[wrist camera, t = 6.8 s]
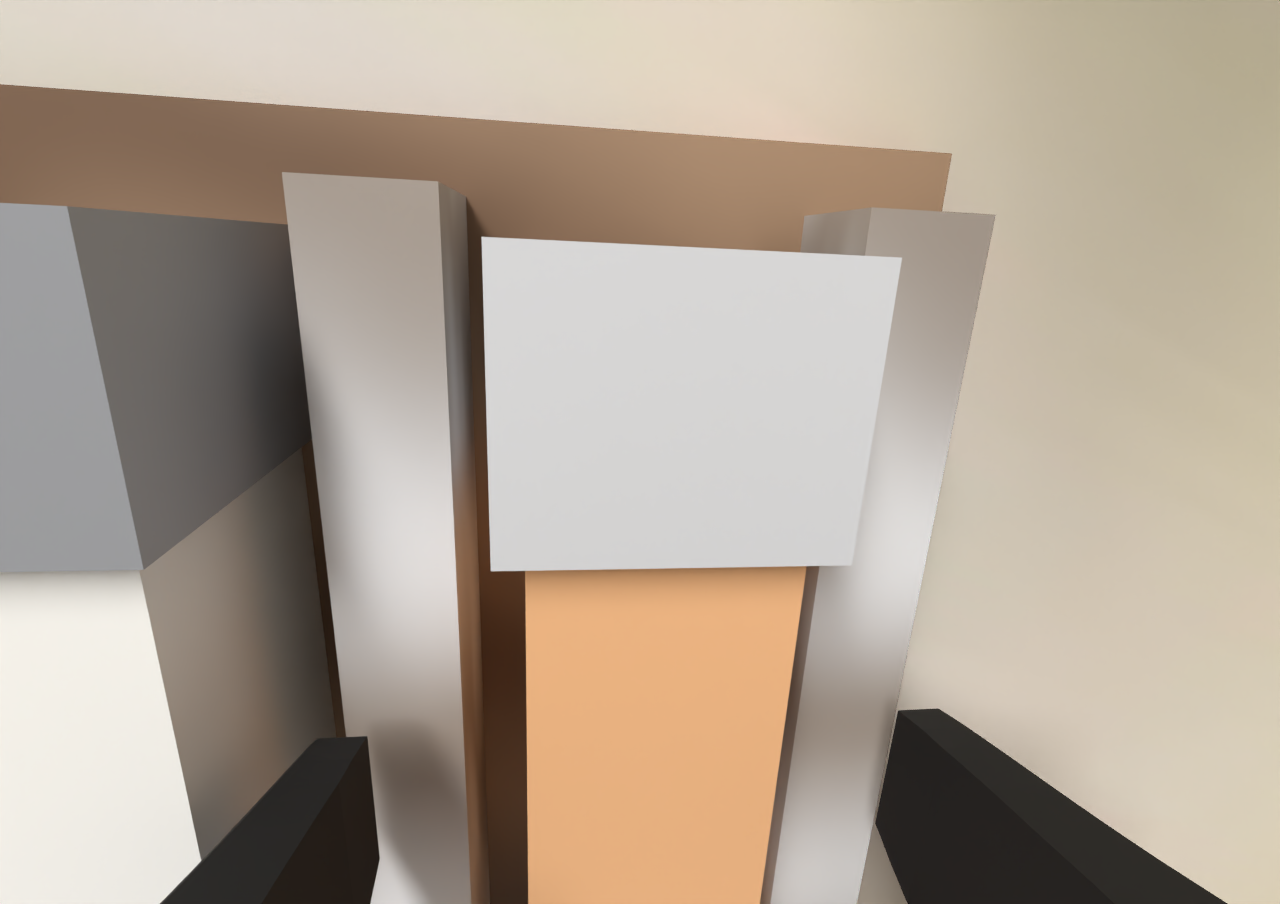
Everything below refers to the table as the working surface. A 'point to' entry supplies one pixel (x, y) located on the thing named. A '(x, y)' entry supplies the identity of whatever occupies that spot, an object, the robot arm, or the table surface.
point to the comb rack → (457, 425)
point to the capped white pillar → (148, 546)
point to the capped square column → (669, 536)
